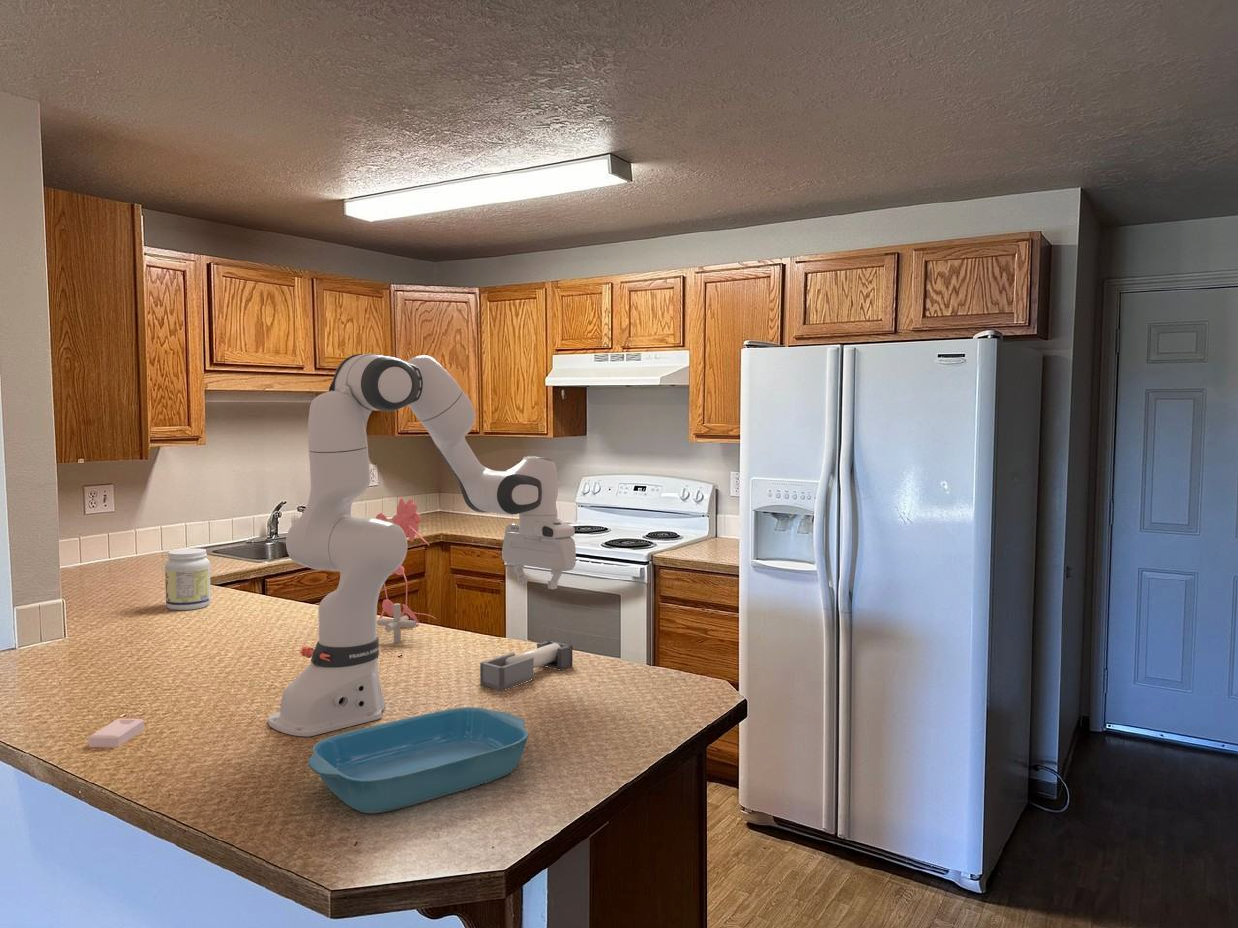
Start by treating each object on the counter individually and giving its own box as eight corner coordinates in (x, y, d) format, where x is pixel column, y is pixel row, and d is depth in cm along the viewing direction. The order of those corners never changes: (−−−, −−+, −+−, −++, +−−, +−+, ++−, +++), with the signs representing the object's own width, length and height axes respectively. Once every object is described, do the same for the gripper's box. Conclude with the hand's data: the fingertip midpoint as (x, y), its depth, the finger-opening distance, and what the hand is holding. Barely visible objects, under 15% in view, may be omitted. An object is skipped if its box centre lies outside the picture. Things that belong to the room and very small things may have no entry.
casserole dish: (484, 733, 164) (484, 696, 164) (554, 771, 147) (554, 730, 147) (287, 786, 140) (286, 743, 140) (342, 840, 123) (341, 791, 123)
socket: (561, 670, 202) (561, 649, 202) (537, 664, 207) (537, 643, 206) (572, 666, 205) (572, 645, 205) (548, 660, 210) (548, 640, 209)
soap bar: (87, 749, 156) (86, 735, 155) (117, 729, 165) (116, 717, 164) (117, 749, 155) (116, 736, 155) (145, 730, 165) (145, 717, 164)
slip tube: (518, 676, 193) (518, 659, 193) (505, 673, 195) (504, 655, 195) (562, 661, 205) (562, 644, 205) (549, 658, 207) (549, 641, 207)
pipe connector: (406, 648, 219) (406, 609, 218) (370, 646, 221) (369, 607, 220) (423, 638, 229) (423, 600, 228) (388, 636, 231) (387, 598, 230)
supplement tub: (170, 603, 267) (168, 548, 266) (213, 600, 271) (212, 546, 269) (162, 612, 255) (160, 555, 254) (207, 609, 259) (206, 553, 258)
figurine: (412, 633, 234) (413, 503, 232) (360, 617, 251) (361, 496, 249) (458, 624, 245) (460, 500, 243) (406, 609, 262) (407, 493, 261)
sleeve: (501, 691, 187) (501, 668, 187) (480, 685, 191) (480, 662, 191) (533, 679, 195) (533, 657, 195) (512, 674, 199) (512, 652, 199)
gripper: (496, 523, 205) (495, 582, 205) (562, 531, 192) (561, 593, 193) (515, 521, 210) (514, 578, 210) (580, 529, 197) (579, 589, 198)
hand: (537, 586), depth 201 cm, fingers open, 8 cm apart
